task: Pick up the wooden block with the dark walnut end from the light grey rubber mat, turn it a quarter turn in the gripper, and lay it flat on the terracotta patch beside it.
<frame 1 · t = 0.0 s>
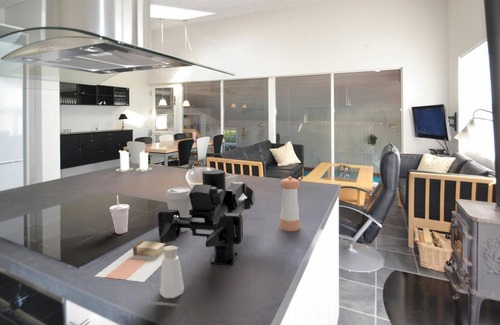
hand: (183, 242, 51), 17 cm above the kitchen island, tool horizontal, fingers open, 9 cm apart
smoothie: (121, 233, 98), on the kitchen island
mat: (140, 261, 78), on the kitchen island
salt shaker: (289, 227, 101), on the kitchen island
wooden block: (137, 251, 83), resting on mat
pepper shaker: (172, 293, 63), on the kitchen island
coffee cup: (180, 230, 100), on the kitchen island
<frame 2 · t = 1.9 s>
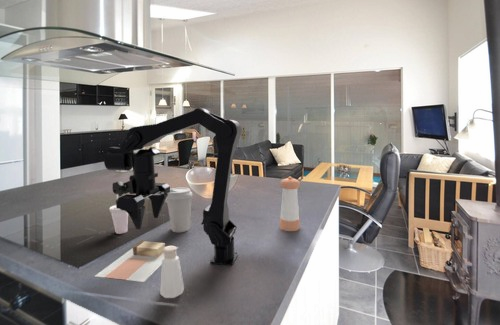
hand: (147, 223, 80), 10 cm above the kitchen island, tool pointing down, fingers open, 9 cm apart
nothing on the kitchen island moved.
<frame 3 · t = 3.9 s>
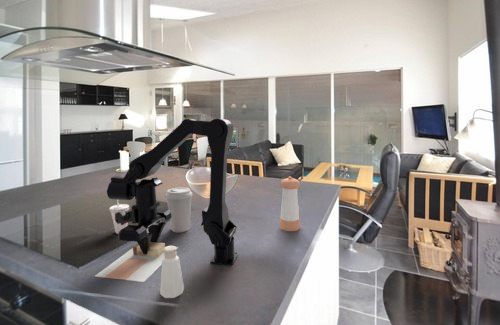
hand: (149, 250, 82), 1 cm above the kitchen island, tool pointing down, fingers closed on wooden block, 4 cm apart
wooden block: (137, 251, 83), resting on mat, touching gripper
everything else where it was.
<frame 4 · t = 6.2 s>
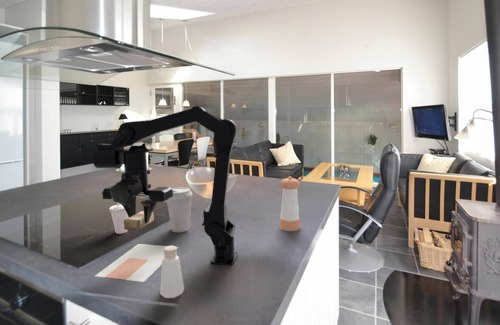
hand: (139, 222, 78), 11 cm above the kitchen island, tool pointing down, fingers closed on wooden block, 4 cm apart
wooden block: (131, 229, 74), point 10 cm above the kitchen island, touching gripper
everything else where it was.
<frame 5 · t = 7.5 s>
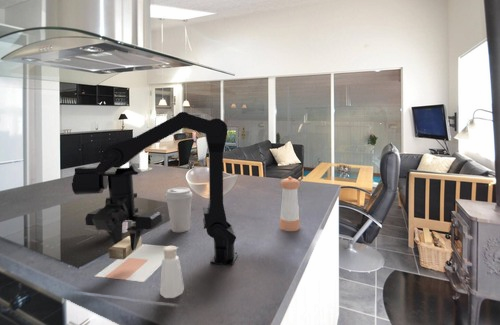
hand: (126, 249, 73), 6 cm above the kitchen island, tool pointing down, fingers closed on wooden block, 4 cm apart
wooden block: (116, 258, 69), point 5 cm above the kitchen island, touching gripper
everything else where it was.
when the fingers open (3 cm above the kitchen island, at t = 8.5 s): wooden block drops 1 cm, resting on mat.
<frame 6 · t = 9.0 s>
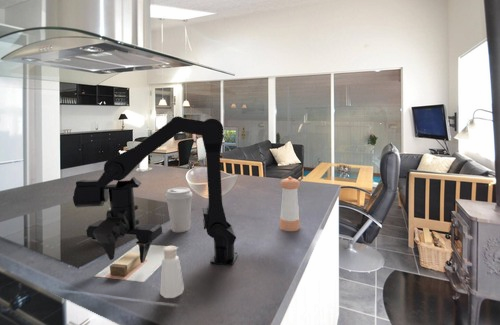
hand: (127, 260, 73), 3 cm above the kitchen island, tool pointing down, fingers open, 9 cm apart
wooden block: (117, 276, 69), point 1 cm above the kitchen island, touching mat
everything else where it was.
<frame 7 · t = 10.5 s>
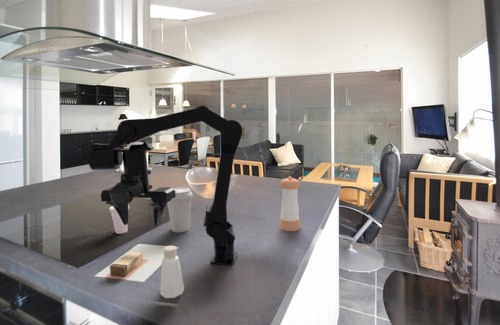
hand: (141, 225, 74), 12 cm above the kitchen island, tool pointing down, fingers open, 9 cm apart
nothing on the kitchen island moved.
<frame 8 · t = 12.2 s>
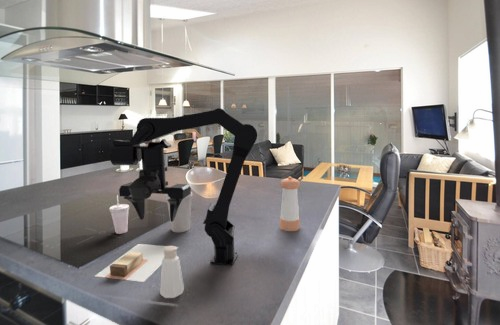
hand: (157, 220, 76), 12 cm above the kitchen island, tool pointing down, fingers open, 9 cm apart
nothing on the kitchen island moved.
at the end: wooden block inside the target area (4.1 cm from its centre), point 0.5 cm above the kitchen island; the gripper is holding nothing; wooden block tilted 0° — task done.
